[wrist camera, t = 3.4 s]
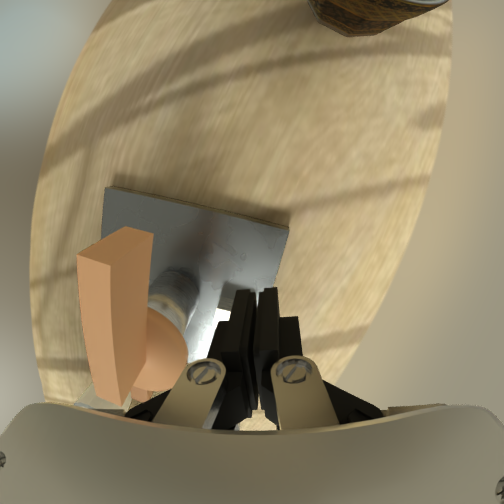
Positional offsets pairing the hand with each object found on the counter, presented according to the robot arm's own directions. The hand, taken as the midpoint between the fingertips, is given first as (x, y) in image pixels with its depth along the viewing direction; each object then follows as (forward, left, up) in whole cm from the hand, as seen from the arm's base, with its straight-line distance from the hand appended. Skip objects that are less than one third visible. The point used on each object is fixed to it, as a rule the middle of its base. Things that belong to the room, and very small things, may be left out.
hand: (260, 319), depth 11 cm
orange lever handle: (-5, +6, -4) cm, 9 cm away
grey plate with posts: (-7, +7, -12) cm, 15 cm away
